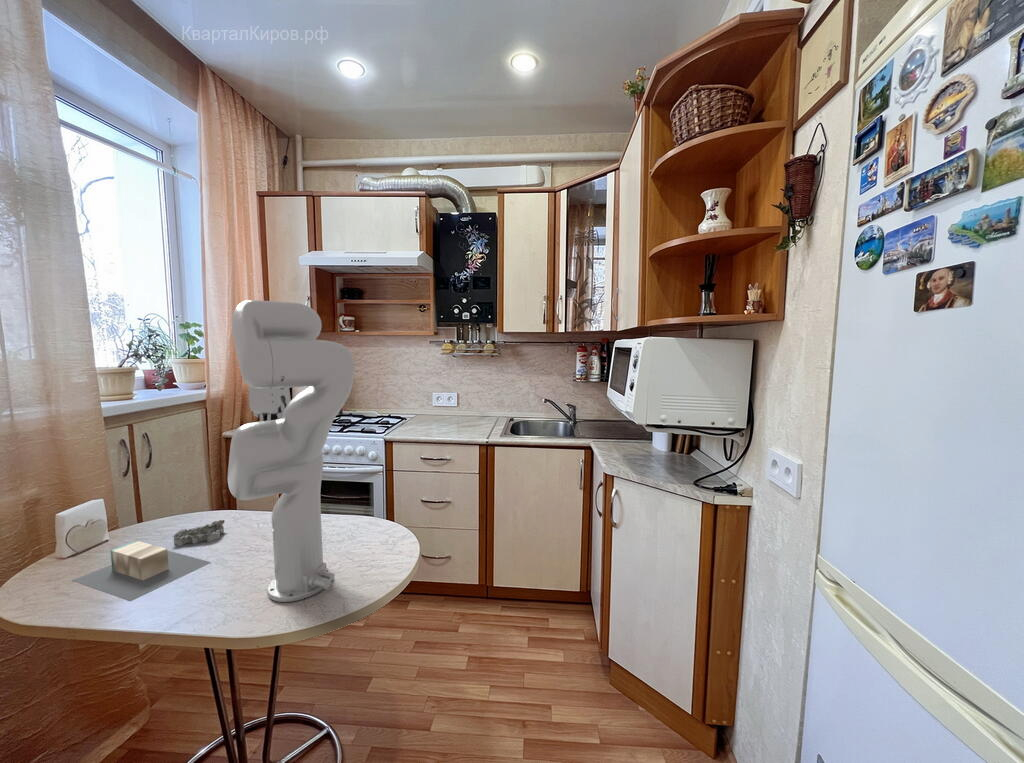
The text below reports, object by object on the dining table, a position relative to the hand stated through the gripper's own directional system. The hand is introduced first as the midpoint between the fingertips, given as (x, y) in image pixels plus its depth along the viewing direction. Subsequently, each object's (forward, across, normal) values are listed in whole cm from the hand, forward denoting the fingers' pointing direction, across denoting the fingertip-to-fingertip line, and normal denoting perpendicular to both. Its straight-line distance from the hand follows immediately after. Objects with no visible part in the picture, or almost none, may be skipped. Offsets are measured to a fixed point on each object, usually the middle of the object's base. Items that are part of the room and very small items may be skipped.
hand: (271, 438), depth 105 cm
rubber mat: (+29, +17, +21) cm, 40 cm away
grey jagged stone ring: (+30, +23, +6) cm, 38 cm away
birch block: (+26, +12, +21) cm, 36 cm away
